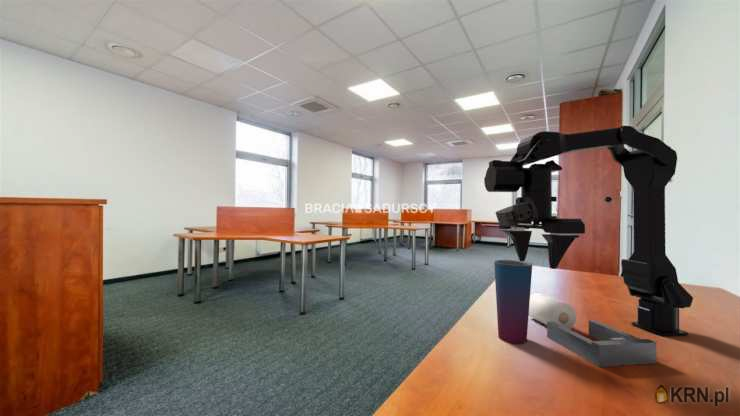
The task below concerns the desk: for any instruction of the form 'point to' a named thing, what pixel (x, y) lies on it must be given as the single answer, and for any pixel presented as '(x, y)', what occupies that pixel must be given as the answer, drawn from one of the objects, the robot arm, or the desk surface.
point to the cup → (513, 299)
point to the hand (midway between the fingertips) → (536, 264)
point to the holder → (605, 345)
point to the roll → (551, 311)
